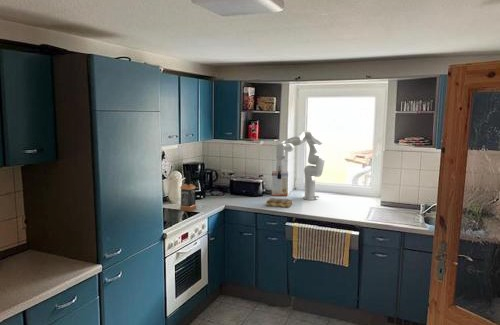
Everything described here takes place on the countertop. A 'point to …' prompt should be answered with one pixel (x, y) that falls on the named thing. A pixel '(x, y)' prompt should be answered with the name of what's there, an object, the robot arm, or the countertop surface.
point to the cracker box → (280, 184)
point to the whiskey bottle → (188, 195)
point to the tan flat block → (279, 202)
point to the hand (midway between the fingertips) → (280, 178)
